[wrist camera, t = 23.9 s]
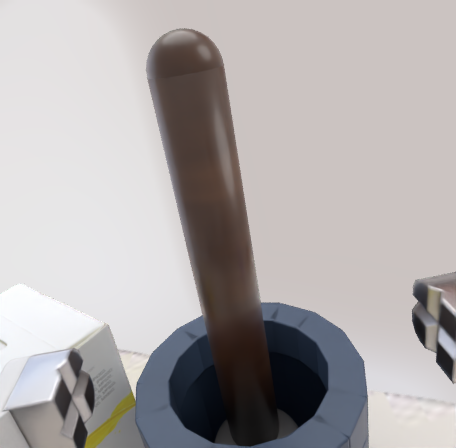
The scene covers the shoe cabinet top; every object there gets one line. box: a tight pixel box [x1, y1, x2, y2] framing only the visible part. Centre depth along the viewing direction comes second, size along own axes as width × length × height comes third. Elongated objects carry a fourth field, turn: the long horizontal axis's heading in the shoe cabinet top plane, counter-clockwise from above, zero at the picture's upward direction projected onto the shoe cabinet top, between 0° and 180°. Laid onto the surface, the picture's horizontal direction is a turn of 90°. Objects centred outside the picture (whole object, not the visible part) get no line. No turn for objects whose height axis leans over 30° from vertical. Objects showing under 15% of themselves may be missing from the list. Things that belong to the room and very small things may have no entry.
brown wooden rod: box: [146, 29, 298, 447], centre depth 16 cm, size 4×4×22 cm
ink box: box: [0, 284, 145, 448], centre depth 22 cm, size 9×5×12 cm, turn 54°
